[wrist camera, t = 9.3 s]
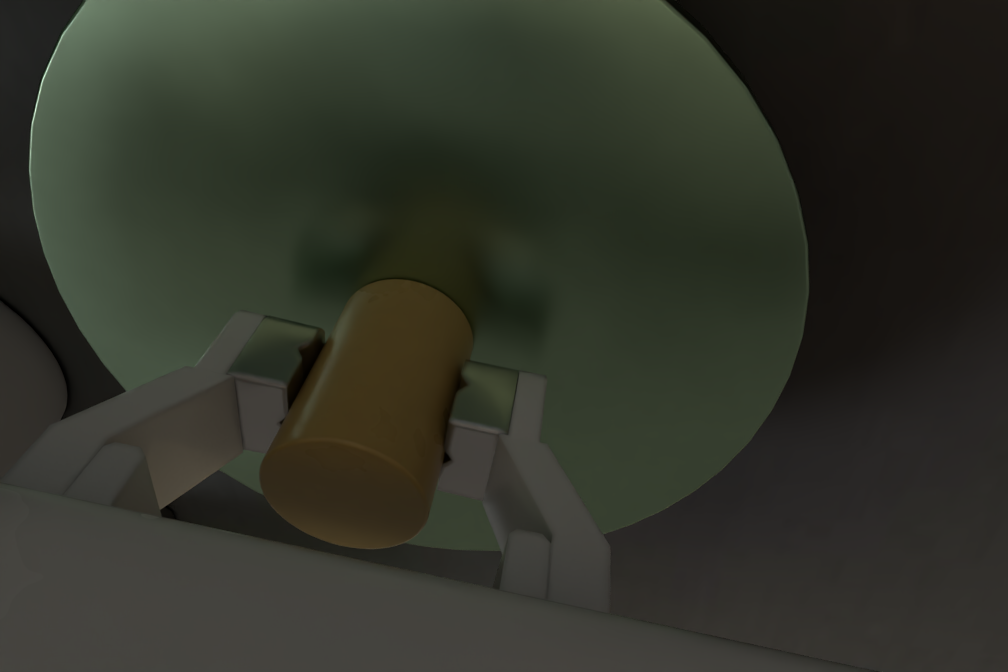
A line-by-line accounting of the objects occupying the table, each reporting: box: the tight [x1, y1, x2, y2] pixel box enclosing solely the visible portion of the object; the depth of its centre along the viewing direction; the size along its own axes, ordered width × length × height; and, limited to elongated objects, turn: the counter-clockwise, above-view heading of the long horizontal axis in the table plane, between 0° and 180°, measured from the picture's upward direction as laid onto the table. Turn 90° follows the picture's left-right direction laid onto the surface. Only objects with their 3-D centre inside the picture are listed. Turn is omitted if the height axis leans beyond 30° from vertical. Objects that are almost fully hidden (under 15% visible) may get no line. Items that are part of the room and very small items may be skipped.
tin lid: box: [28, 0, 810, 551], centre depth 12 cm, size 15×15×5 cm
